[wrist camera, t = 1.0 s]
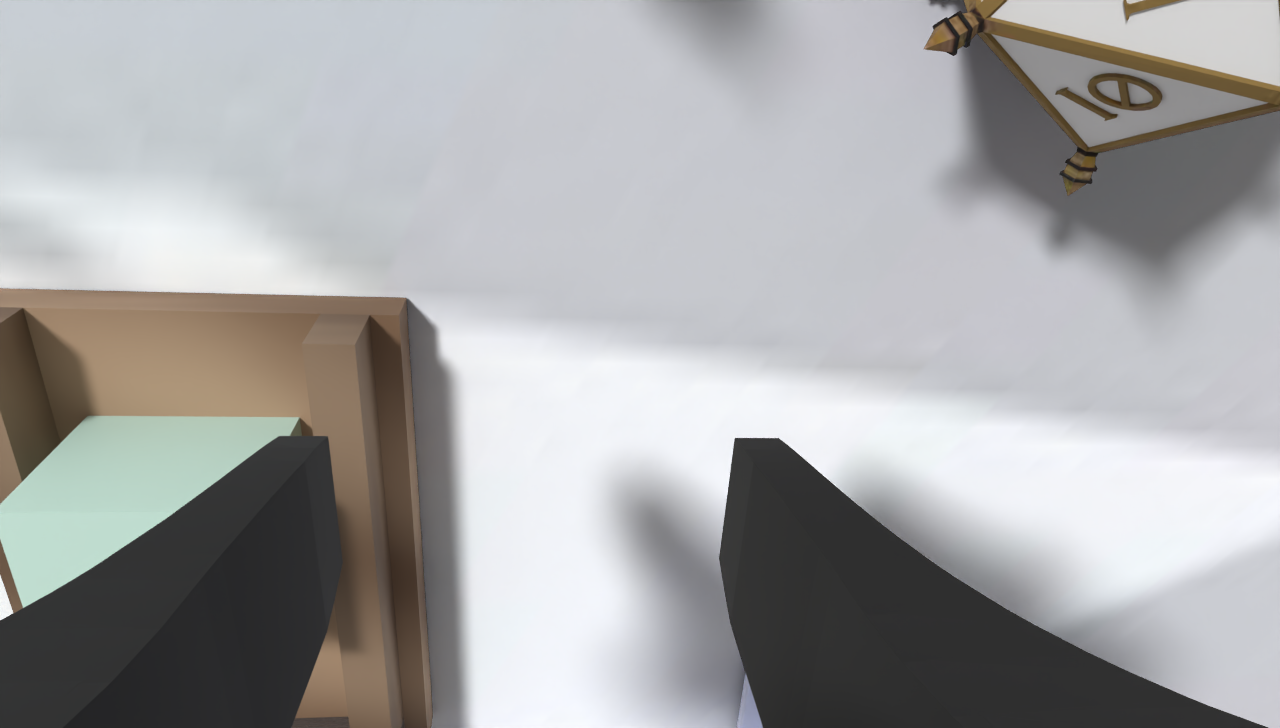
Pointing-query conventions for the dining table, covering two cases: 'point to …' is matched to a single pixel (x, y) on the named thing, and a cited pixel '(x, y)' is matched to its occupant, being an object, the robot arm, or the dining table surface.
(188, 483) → the block
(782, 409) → the dining table surface
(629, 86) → the dining table surface
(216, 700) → the robot arm
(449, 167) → the dining table surface
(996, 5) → the game die
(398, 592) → the chute
